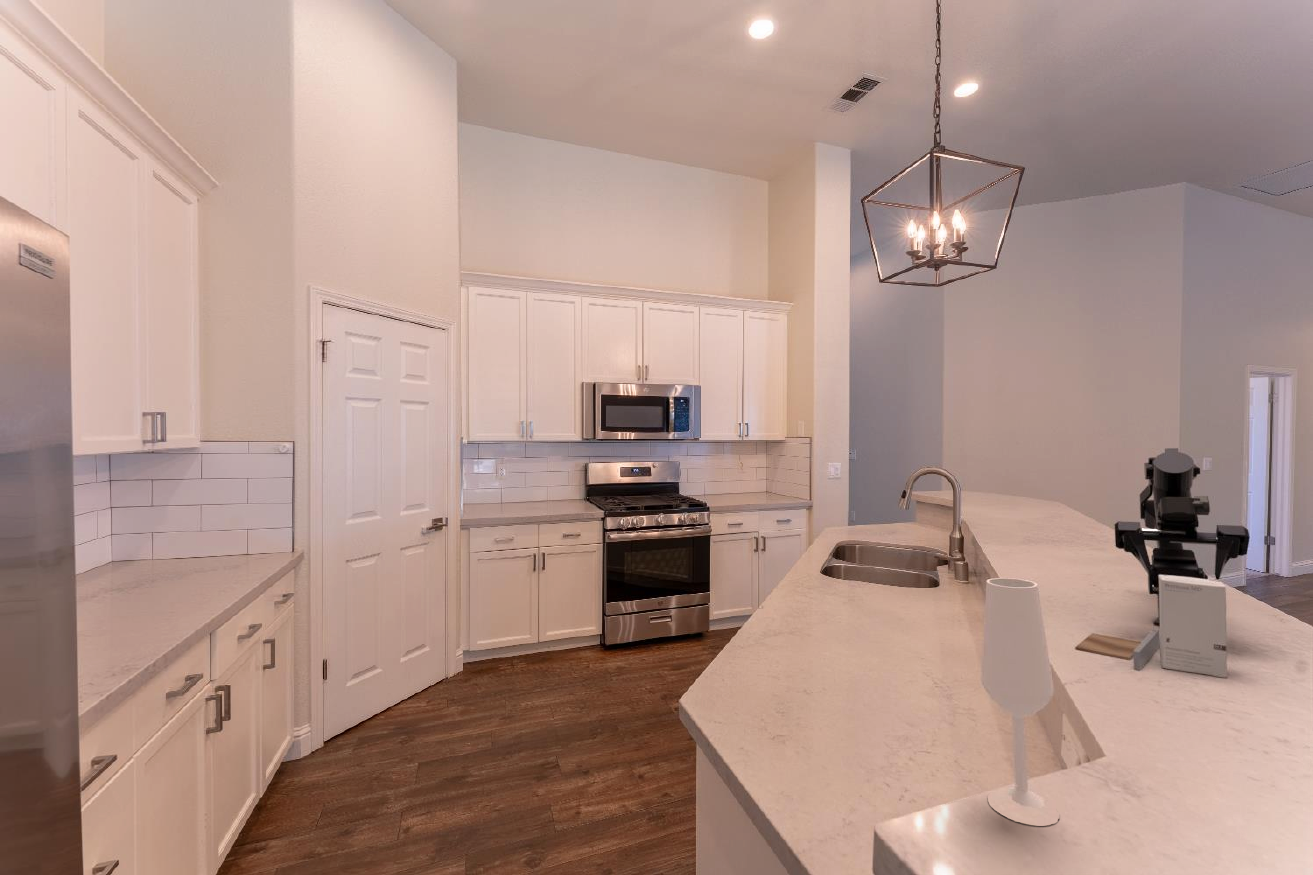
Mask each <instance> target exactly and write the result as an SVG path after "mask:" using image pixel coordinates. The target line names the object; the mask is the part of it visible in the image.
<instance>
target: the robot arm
mask: <svg viewBox="0 0 1313 875" xmlns="http://www.w3.org/2000/svg"><path fill="white" fill-rule="evenodd" d="M1194 462H1195V461H1194V459H1193V458H1192V457H1191V456H1190V455H1189V454H1186V453H1185V452H1180V451H1179V447H1177V448H1176V447H1173V448H1171V447H1170V448H1164V452H1161V453H1160V454H1158V455H1156V457H1149V458H1148V459H1147V462H1144V464H1143V466H1144V468H1143V469H1144V479H1145V480H1148V485H1147V486H1146V487H1145V488H1144V489H1143V490H1142V491H1141V493H1139V515H1140V516H1139V517H1140V519H1141V520H1143V521H1144V527H1145V528H1141V522H1140V521H1121V520H1120V521H1116V522H1115V523H1114V541H1115V544H1114V545H1115V548H1117V549H1120V550H1124V552H1125V553H1130V554H1132V556H1133V557H1135V559H1136V560H1137V561H1138V562H1139V563H1140V564H1141V566H1142V568H1144V570H1145V572H1146V573H1147V588H1148V593H1149V595H1156V596H1157V617H1156V618H1155V619H1154V620H1153V621H1152V622H1153V625H1156V626H1157V625H1158V626H1160V613H1159V577H1158V575H1171V576H1182V577H1192V578H1200V579H1209V576H1208V575H1207V574H1206V573H1205V571H1204V568H1203V567H1199V564H1198V561H1197V558H1196V555H1195V552H1194V551H1193V550H1192V549H1184V547H1183V544H1192V545H1212V546H1213V545H1214V546H1215V554H1214V576H1215V580H1217V581H1220V579H1221V576H1222V573H1223V571H1224V567H1225V566H1226V565H1227V563H1228V562H1229V560H1230V559H1237V558H1238V557H1239V556H1240V557H1243V556H1245V555H1248V548H1249V543H1250V533H1249V529H1248V528H1246V527H1245V526H1244V525H1229V524H1228V525H1227V524H1216V531H1215V532H1202V531H1201V532H1200V531H1199V532H1198V528H1199V526H1200V525H1199V516H1209V515H1210V511H1211V508H1210V501H1209V496H1208V495H1195V496H1194V498H1193V497H1192V490H1191V489H1192V487H1193V482H1194V481H1193V480H1195V479H1196V478H1197V476H1198V475H1200V474H1201V467H1198V466H1197V464H1195V463H1194ZM1152 496H1153V499H1150V498H1151V497H1152ZM1145 541H1153V542H1155V541H1156V547H1155V548H1153V549H1152V555H1151V561H1150V558H1149V554H1148V550H1147V547H1146V542H1145Z"/></svg>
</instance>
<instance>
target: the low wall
mask: <svg viewBox="0 0 1313 875" xmlns="http://www.w3.org/2000/svg"><path fill="white" fill-rule="evenodd" d="M1140 642H1141V643H1140V644H1139V645H1138V646H1137V647H1136V648H1135V650H1134V651H1133V657H1132V660H1133V670H1136V671H1141V670H1142V669H1143V668H1144V666H1145V665H1146V664H1147V663H1148V661H1149V660H1150V659H1151V658H1152V657H1153V656H1154V654H1155V653H1156V652H1157V651H1158V650H1159V649H1160V629H1154V628H1153V629H1152V630H1151V632H1150V633H1149V634H1147V635H1146V637H1145V638H1143V640H1142V641H1140Z"/></svg>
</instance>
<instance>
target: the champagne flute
mask: <svg viewBox="0 0 1313 875" xmlns="http://www.w3.org/2000/svg"><path fill="white" fill-rule="evenodd" d="M985 586H986V587H985V588H986V589H985V600H984V602H985V603H984V604H985V606H984V621H983V622H984V623H983V639H982V656H981V674H980V675H981V676H980V681H981V685H982V687H983V689H984V690H985V692H986V693H987V694H988V696H989V697H990V698H991V700H993V702H995V703H996V704H997V705H998V707H999V708H1001V709H1002V710H1003V711H1004V712H1005V713H1007V714H1009V715H1010V716H1011V727H1012V730H1011V731H1012V747H1013V748H1012V749H1013V765H1014V767H1013V768H1014V769H1013V770H1014V772H1013V773H1014V786H1012V788H1010V787H1008V788H1009V791H1006V792H1005V793H1004V794H1007V795H1010V796H1012V800H1013V801H1015V802H1016V803H1019V804H1020V805H1023V806H1027V807H1028V806H1030V807H1033V808H1041V807H1043V806H1044V803H1043V801H1044V800H1043V799H1044V798H1043V797H1041V796H1040V797H1039V795H1038V794H1037V793H1035V792H1033V791H1031V790H1029V785H1028V784H1029V781H1028V780H1029V779H1028V764H1027V763H1028V761H1027V759H1028V758H1027V744H1026V743H1027V740H1026V725H1025V724H1026V722H1025V720H1026V719H1025V718H1029V717H1031V716H1033V715H1034V714H1036V713H1037V712H1039V711H1041V710H1042V709H1044V708H1045V707H1046V706H1047V704H1049V703H1050V701H1051V700H1052V698H1053V696H1054V694H1055V693H1054V692H1055V686H1054V682H1053V676H1052V669H1051V662H1050V655H1049V650H1048V643H1047V636H1046V631H1045V625H1044V624H1045V623H1044V618H1043V612H1042V605H1041V598H1040V597H1041V596H1040V593H1039V592H1040V591H1039V585H1038V583H1036V582H1035V581H1031V580H1026V579H1021V578H1013V577H995V578H989V579H986V585H985ZM1015 785H1017V786H1015ZM1006 790H1007V789H1006ZM1003 791H1005V790H1003ZM1042 798H1043V799H1042Z"/></svg>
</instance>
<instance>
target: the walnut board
mask: <svg viewBox="0 0 1313 875" xmlns="http://www.w3.org/2000/svg"><path fill="white" fill-rule="evenodd" d="M1141 642H1142V641H1138V640H1132V639H1127V638H1120V637H1114V636H1110V635H1103V634H1098V633H1090V634H1089V635H1088V636H1087V637H1086V638H1085V639H1083V640H1082V641H1080V643H1078V644H1077V645H1076V646H1075V647H1074V649H1075V650H1078V651H1083V652H1087V653H1088V652H1089V653H1093V654H1099V655H1103V656H1108V657H1113V658H1119V659H1123V660H1128V661H1130V660H1131V659H1133V651H1134V650H1135V648H1136V647H1137V646H1138V645H1139V644H1140V643H1141Z"/></svg>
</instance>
